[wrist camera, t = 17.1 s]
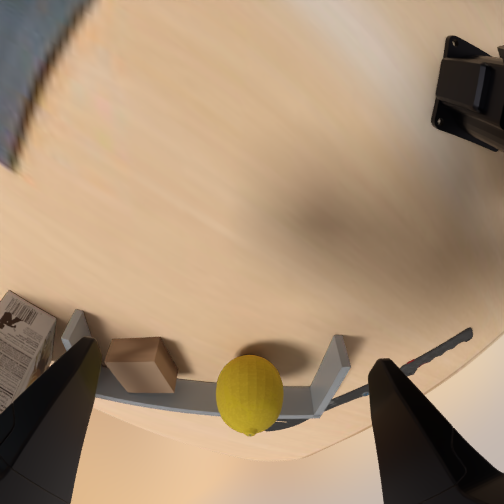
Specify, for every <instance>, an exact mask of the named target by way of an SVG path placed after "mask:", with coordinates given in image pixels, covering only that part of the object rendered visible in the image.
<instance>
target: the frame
mask: <svg viewBox="0 0 504 504" xmlns="http://www.w3.org/2000/svg"><path fill="white" fill-rule="evenodd" d="M84 336H88V337H91V334H90V331H89V328H88V325H87V322H86V319H85V316H84V312H83V311H81V310H76V309H75V311H74V313H73V315H72V317H71V319H70V321H69V323H68V325H67V327H66V329H65V331H64V333H63V335H62V337H61V340H62V342H63V344H64V346H65V349H66V351H67V350H69V349H70V348H71V347H72V346H73V345H74V344H75V343H76V342H77V341H79V340H80V339H81V338H82V337H84ZM350 368H351V365H350V361H349V357H348V354H347V350H346V346H345V343H344V339H343V336H342V335H334V336H333V338H332V341H331V343H330V345H329V347H328V350H327V352H326V354H325V356H324V358H323V361H322V363H321V365H320V367H319V369H318V371H317V373H316V375H315V378H314V380H313V382H312V384H311V386H310V387H283V390H284V396H283V404H282V409H281V412H280V415H279V417H278V419H308V418H320V417H321V415H322V413H323V412H324V410H325V409H326V407H327V406H328V404H329V403H330V401H331V399H332V398H333V396H334V395H335V393H336V391H337V390H338V388H339V386H340V385H341V383H342V381H343V380H344V378H345V376H346V375H347V373H348V371H349V369H350ZM216 386H217V383H211V382H200V381H191V380H182V379H176V386H175V392H174V393H128V392H127V391H126V390H125V388H124V387H123V386H122V385H121V383H120V382H119V381H118V380H117V378H116V377H115V376H114V375H113V373H112V372H111V371H110V369H109V368H106V367H103V366H102V364H101V367H100V372H99V377H98V383H97V389H96V395H95V397H97V398H101V399H106V400H110V401H115V402H120V403H125V404H130V405H136V406H141V407H147V408H154V409H160V410H167V411H174V412H182V413H191V414H200V415H211V416H221V415H220V413H219V410H218V407H217V402H216Z"/></svg>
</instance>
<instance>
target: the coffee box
mask: <svg viewBox="0 0 504 504" xmlns="http://www.w3.org/2000/svg"><path fill="white" fill-rule="evenodd" d="M55 327H56V318H55V317H53V316H51V315H50V314H48V313H46V312H44V311H43V310H41V309H39V308H37V307H36V306H34V305H32V304H30V303H29V302H27V301H25V300H24V299H22V298H21V297H19V296H17V295H16V294H14V293H13V292H11V291H8V292H7V293H6V294H5V296H4V297H3V298H2V300H1V301H0V413H1V412H3V411H4V410H5V409H6V408H7V407H8V406H9V405H10V404H11V403H13V401H14V400H15V399H16V398H17V397H18V396H19V395H20V394H21V393H22V392H23V391H24V390H26V389H27V388H28V387H29V386H30V385H31V384H32V383H33V382H34V381H35V380H36V379H37V378H38V377H39V376H40V375H41V374H42V373H44V372H45V371H46V370H47V369H48V368H49V365H50V363H51V361H52V351H53V342H54V334H55Z"/></svg>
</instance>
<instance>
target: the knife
mask: <svg viewBox="0 0 504 504" xmlns="http://www.w3.org/2000/svg"><path fill="white" fill-rule="evenodd" d="M472 337H473V332H472V329H471V328H467V329H466V330H464V331H462V332H461V333H459V334H458V335H456V336H454V337H453V338H451V339H449V340H448V341H446V342H444V343H443V344H441V345H439V346H438V347H436V348H434V349H432V350H431V351H429V352H427V353H425V354H423V355H422V356H420V357H418V358H416V359H413V360H411V361H409V362H408V363H407V364H405V365H403V366H402V367H401V368H400V370H401V371H402V372H403V373H404V374H405V375H406V376H410V375H413V374H414V373H415V372H416V370H417V368H418V367H420V366H421V365H423V364H425V363H428V362H430V361H431V360H432V359H434V358H435V357H437V356H441V355H442V354H443V353H445V352H446V351H447V350H450V349H453V348H454V347H455V346H456V345H458V344H459V343H461V342H464V341H465V342H467V341H469V340H470V339H472ZM367 395H369V384H367V385H364V386H362V387H360V388H358V389H355V390H353V391H351V392H348V393H346V394H344V395H341V396H339V397H336V398H334V399H331V401H330V403H329V404H328V406H327V407H326V409H325V410H324V412H325V411H327V410H329V409H331V408H334V407H336V406H339V405H341V404H344V403H346V402H349V401H351V400H354V399H357V398H360V397H362V396H367ZM308 419H310V418H308ZM308 419H277V420H276V421H285V422H286V423H285V422H275V423H274V424H273V425H272V426H270V427H269V428H268V429H266V430H264V431H275V430H281V429H285V428H289V427H292V426H295V425H298V424H300V423H302V422H304V421H306V420H308Z"/></svg>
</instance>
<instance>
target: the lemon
mask: <svg viewBox="0 0 504 504" xmlns="http://www.w3.org/2000/svg"><path fill="white" fill-rule="evenodd" d="M283 396H284V390H283V384H282V380H281V377H280V375H279V372H278V371H277V369H276V368H275V367H274V366H273V365H272V363H270V362H269V361H268V360H266V359H264V358H262V357H260V356H255V355H244V356H240V357H237V358H235V359H233V360H231V361H230V362H229V363H228V364H227V365H226V366H225V367H224V368H223V370H222V371H221V373H220V375H219V377H218V381H217V386H216V402H217V407H218V410H219V413H220V415H221V417H222V419H223V421H224V422H225V423H226V424H227V425H228V426H229V427H231V428H232V429H234V430H236V431H238V432H240V433H244V434H245V435H246V436H254V435H255V434H256V433H259V432H262V431H264V430H266V429H268V428H269V427H270V426H272V425H273V424H274V423H275V421H276V420H277V419H278V417H279V415H280V412H281V409H282V404H283Z"/></svg>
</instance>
